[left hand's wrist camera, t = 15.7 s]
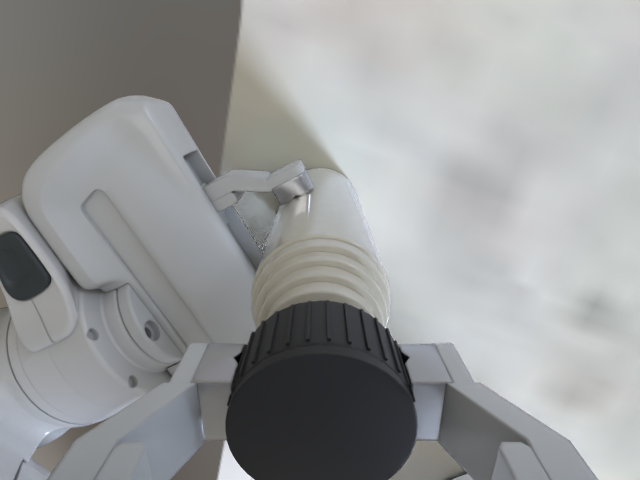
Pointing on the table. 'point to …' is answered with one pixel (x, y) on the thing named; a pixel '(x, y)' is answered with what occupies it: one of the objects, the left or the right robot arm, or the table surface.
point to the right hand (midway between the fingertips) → (334, 226)
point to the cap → (321, 397)
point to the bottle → (321, 253)
